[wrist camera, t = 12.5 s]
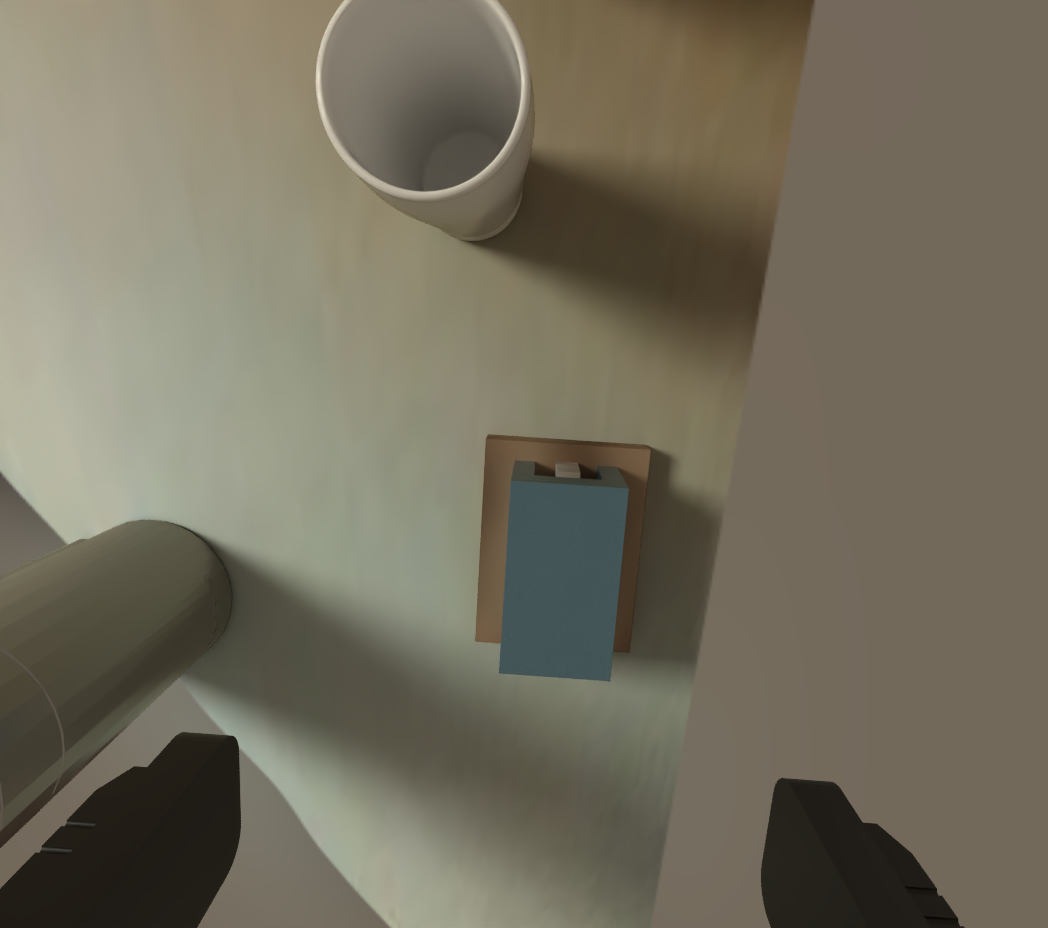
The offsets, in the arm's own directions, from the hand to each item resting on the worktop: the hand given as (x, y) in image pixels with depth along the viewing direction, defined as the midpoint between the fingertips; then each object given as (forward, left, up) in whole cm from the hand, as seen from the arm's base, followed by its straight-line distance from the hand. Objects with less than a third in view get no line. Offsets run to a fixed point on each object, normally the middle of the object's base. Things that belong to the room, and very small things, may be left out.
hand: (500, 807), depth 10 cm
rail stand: (+2, -5, -28) cm, 29 cm away
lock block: (+2, -5, -27) cm, 27 cm away
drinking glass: (-4, +14, -28) cm, 32 cm away
